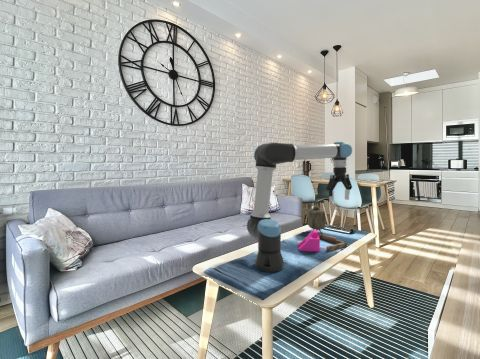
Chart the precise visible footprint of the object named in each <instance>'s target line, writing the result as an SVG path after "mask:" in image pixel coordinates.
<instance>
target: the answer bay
mask: <svg viewBox="0 0 480 359" xmlns="http://www.w3.org/2000/svg"><path fill="white" fill-rule="evenodd" d="M306 237H307V236H305V237H303V240H304V239H305V238H306ZM319 239H320V240H321V239H322V240H325V241H328V242H330V243H334V244H333V245H327V246H326V252H332V251H335V250H339V249H343V248H346V247H348V243H347V242H346V241H343V240H340V239H338V238H337V237H334V236H331V235H325V234H321V233H320V234H319Z"/></svg>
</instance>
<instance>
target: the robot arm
mask: <svg viewBox="0 0 480 359" xmlns="http://www.w3.org/2000/svg"><path fill="white" fill-rule="evenodd" d="M352 153H353V147H352V145H351V144H349V143H347V142H346V141H335V142H334V143H333V144H331V143H330V144H299V145H295V144H293V143H285V142H284V143H283V142H282V143H281V142H267V143H262V144H260V145H258V146H257V147H256V148H255V149H254V153H253V159H254V161H255V168H256V169H257V172H256V173H257V174H256V185H255V193H254V203H253V211H252V212H251V213H250V217H249V219H248V220H247V222H246V230H247V232H248V234H249V235H250V236H251V237H252V238H254V239H255V240H256V241H257V248H258V249H257V250H258V251H257V254H256V258H255V261H254V267H255V269H257V270H259V271H262V272H265V273H276V272H280V271H282V270H283V269H284V268H285V261H284V258H283V255H282V251H281V250H282V249H281V248H282V247H281V246H282V244H281V243H282V241H281V238H282V235H281V234H282V231H281V230H282V229H281V224H280V223H279V222H278V221H277V220H275V219H272V218H271V217H272V216H271V215H270V213H269V212H270V211H269V210H270V202H271V201H270V200H271V191H272V184H273V175H274V171H275V170H276V168H277V165H279V164H280V165H281V164H285V163H293V162H295V161H297V160H298V161H299V160H314V159H315V160H316V159H317V160H318V159H333V161H332V162H333V163H332V164H333V169H332V170H333V171H332V172H333V174H331V175H330V176H329V181H328V184H327V186H326V188H325V190H326V191H327V192H328V197H329V199H328V201H329V202H331V203H334V201H335V197H334V196H335V191H334V189H335V188H336V186H337V184H338V183H342V184H343V186H344V188H345V189H344V200H346V201H349V200H350V194H351V192H350V191H351V190H352V189H353V185H352V183H351V180H350V174H349V173H347V158H348V157H350V156H351V155H352Z"/></svg>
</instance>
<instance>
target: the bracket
mask: <svg viewBox="0 0 480 359" xmlns="http://www.w3.org/2000/svg"><path fill="white" fill-rule="evenodd" d="M319 232H320V231H319V230H316V229H314V230H313V229H312V231H310V232H309V233H308V234H307V236H305V237H306V238H305V239H304V238H303V240H302V241H299V243H297V247H298V251H300V252H320V250H321V244H320V243H321V242H320V241H321V238H320V239H319Z"/></svg>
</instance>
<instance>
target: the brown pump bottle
mask: <svg viewBox="0 0 480 359" xmlns="http://www.w3.org/2000/svg"><path fill="white" fill-rule="evenodd" d="M316 202H317V203H316ZM314 204H315V205H314V206H313V207H312V208H309V209H307V226H308V227H309V228H311V229H312V231H313V230H318V232H320V234H323V233H324V232H322V231H321V230H325V228H326V213H325V212H326V211H325V210H323V209H322V208H320V206H319V201H318V199H315V200H314ZM323 235H324V234H323Z"/></svg>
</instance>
